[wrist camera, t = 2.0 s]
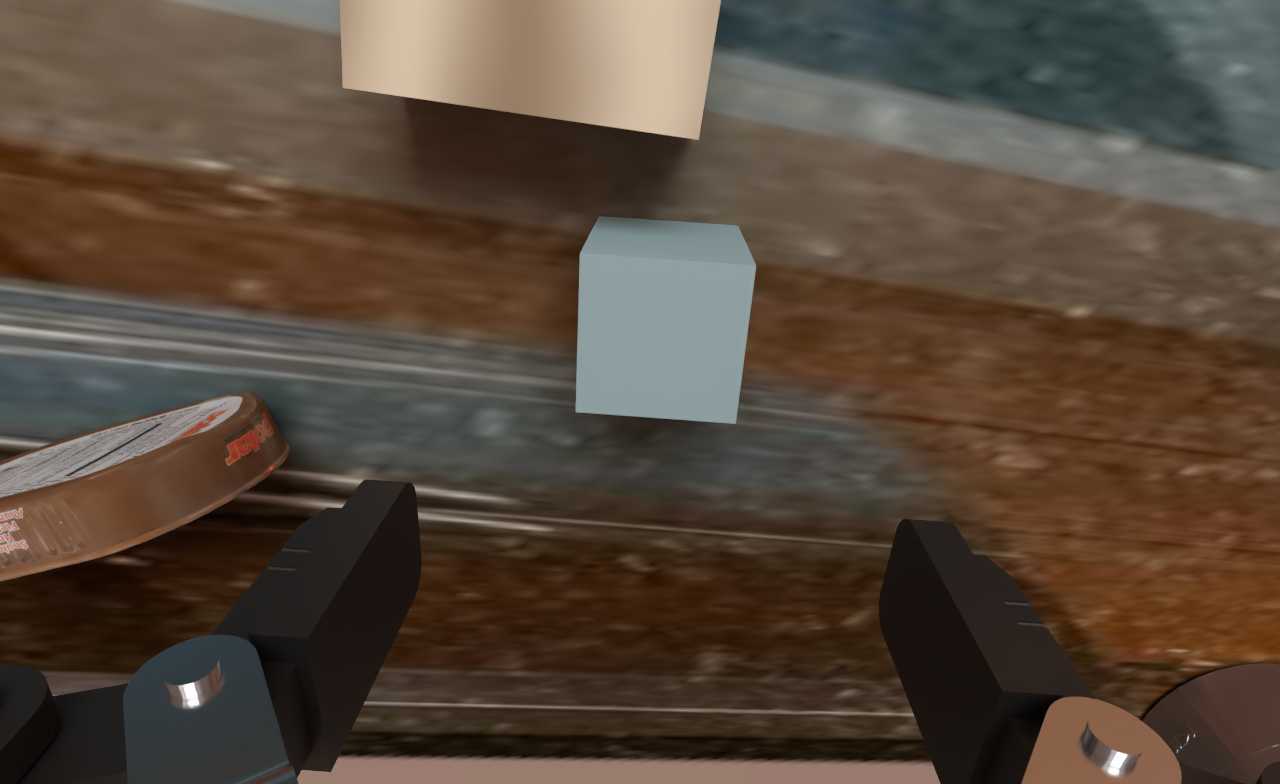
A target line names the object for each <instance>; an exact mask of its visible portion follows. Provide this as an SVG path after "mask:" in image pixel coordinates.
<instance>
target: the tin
mask: <svg viewBox="0 0 1280 784" xmlns="http://www.w3.org/2000/svg"><path fill="white" fill-rule="evenodd" d="M289 453H290V446H289V445H288V443H286V442H285V441H284V440H283V438H282V436H281V434H280V432H279V430H278V428H277V426H276V424H275V422H274V420H273V418H272V416H271V414H270V412H269V410H268V409H267V407H266V405H265V403H264V402H263V401H262V399H261V398H260V397H258V396H257V395H255V394H253V393H245V392H243V393H234V394H229V395H224V396H219V397H215V398H211V399H208V400H204V401H201V402H197V403H193V404H189V405H185V406H181V407H177V408H174V409H170V410H166V411H162V412H158V413H155V414H151V415H147V416H143V417H139V418H136V419H132V420H129V421H125V422H121V423H118V424H114V425H111V426H107V427H104V428H100V429H97V430H93V431H90V432H87V433H83V434H80V435H76V436H73V437H69V438H66V439H63V440H60V441H57V442H54V443H51V444H48V445H45V446H42V447H39V448H37V449H34V450H31V451H28V452H25V453H22V454H20V455H17V456H14V457H12V458H9V459H6V460H4V461H1V462H0V581H5V580H9V579H13V578H18V577H22V576H25V575H29V574H34V573H39V572H43V571H47V570H51V569H54V568H59V567H63V566H68V565H72V564H77V563H81V562H85V561H89V560H93V559H97V558H100V557H104V556H107V555H110V554H113V553H116V552H119V551H122V550H124V549H127V548H130V547H132V546H135V545H138V544H141V543H144V542H146V541H148V540H151V539H153V538H155V537H157V536H160V535H162V534H164V533H166V532H169V531H172V530H174V529H176V528H178V527H180V526H183V525H185V524H187V523H189V522H191V521H193V520H195V519H197V518H199V517H201V516H203V515H205V514H207V513H209V512H211V511H213V510H215V509H216V508H218V507H220V506H222V505H224V504H226V503H228V502H229V501H231V500H233V499H234V498H236V497H238V496H240V495H241V494H242V493H244V492H246V491H247V490H249V489H250V488H252V487H253V486H255V485H256V484H258V483H259V482H261V481H262V480H264V479H265V478H266V477H268V476H269V475H270V474H271V473H272V472H274V471H275V470H276V469H278V467H279V466H281V465H282V464H283V462H284V461H285V460H286V458H287V457H288V455H289Z"/></svg>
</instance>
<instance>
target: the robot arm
mask: <svg viewBox="0 0 1280 784" xmlns="http://www.w3.org/2000/svg"><path fill="white" fill-rule="evenodd" d="M420 574H421V549H420V537H419V524H418V512H417V500H416V492H415V488H414V486H413V484H412V483H407V482H393V481H379V480H364V481H362V482H361V484H360V485H359V486H358V487H357V489H356V490H355V491H354V493H353V494H352V495H351V497H350V498H349V499H348V501H347V502H346V503H345V505H344V506H343V507H342V508H326V509H325V510H323V511H322V512H320V513H318V514H317V515H315V516H314V517H312V518H311V519H309V520H307V521H306V522H304V523H303V524H301V525H300V526H299V527H298V528H297V530H296V531H295V532H294V533H293V534H292V536H291V537H290V538H289V539H288V541H287V542H286V543H285V544H284V546H283V547H282V551H281V552H280V551H279V552H278V553H277V554H276V555H275V557H274V558H273V559H272V560H271V562H270V563H269V564H268V567H267V570H263V571H262V573H261V574H260V575H259V576H258V578H257V579H256V580H255V581H254V582H253V584H252V585H251V586H250V587H249V589H248V590H247V591H246V592H245V594H244V595H243V596H242V597H241V598H240V600H239V601H238V602H237V603H236V605H235V606H234V607H233V608H232V610H231V611H230V612H229V613H228V614H227V616H226V617H225V618H224V619H223V621H222V622H221V623H220V624H219V626H218V627H217V628H216V629H215V630H214V632H213V633H212V634H211V635H210V636H204V637H198V638H195V639H191V640H188V641H185V642H182V643H180V644H177V645H175V646H173V647H171V648H169V649H167V650H165V651H163V652H161V653H160V654H158V655H156V656H155V657H154V658H152V659H151V660H149V661H148V662H147V663H146V664H144V665H143V666H142V667H141V668H140V669H139V670H138V671H137V672H136V673H135V675H134V676H133V677H132V678H131V680H130V682H129V683H127V684H122V685H117V686H111V687H105V688H99V689H93V690H88V691H82V692H76V693H70V694H64V695H58V696H52V694H51V691H50V689H49V686H48V683H47V681H46V678H45V676H44V675H43V674H42V673H41V672H39V671H37V670H36V669H33V668H30V667H25V666H2V667H0V784H298V781H297V777H298V775H299V773H300V771H301V770H312V771H327V772H331V770H332V768H333V766H334V764H335V762H336V760H337V758H338V756H339V754H340V752H341V750H342V748H343V746H344V743H345V741H346V739H347V737H348V735H349V733H350V731H351V729H352V727H353V725H354V723H355V721H356V719H357V716H358V714H359V712H360V710H361V708H362V706H363V704H364V702H365V700H366V698H367V696H368V694H369V692H370V689H371V687H372V685H373V683H374V681H375V679H376V677H377V675H378V673H379V671H380V669H381V667H382V665H383V662H384V660H385V658H386V656H387V654H388V652H389V650H390V648H391V646H392V644H393V642H394V640H395V637H396V635H397V633H398V631H399V629H400V627H401V625H402V623H403V621H404V619H405V617H406V615H407V613H408V610H409V608H410V606H411V604H412V602H413V600H414V598H415V595H416V592H417V589H418V585H419V581H420ZM879 618H880V625H881V629H882V633H883V636H884V638H885V641H886V643H887V646H888V649H889V651H890V654H891V656H892V659H893V662H894V664H895V667H896V669H897V672H898V675H899V677H900V680H901V682H902V685H903V688H904V690H905V693H906V695H907V698H908V700H909V703H910V706H911V708H912V711H913V713H914V716H915V719H916V721H917V724H918V726H919V729H920V732H921V734H922V737H923V739H924V742H925V745H926V747H927V750H928V752H929V755H930V757H931V760H932V763H933V765H934V768H935V770H936V773H937V775H938V778H939V781H940V783H941V784H1280V664H1270V663H1259V664H1245V665H1238V666H1234V667H1229V668H1224V669H1220V670H1217V671H1214V672H1211V673H1208V674H1206V675H1203V676H1200V677H1197V678H1195V679H1193V680H1191V681H1190V682H1188V683H1186V684H1184V685H1182V686H1180V687H1178V688H1177V689H1175V690H1174V691H1172V692H1171V693H1170V694H1168V695H1167V696H1166V697H1164V698H1163V699H1161V700H1160V701H1159V702H1158V703H1157V704H1156V705H1155V706H1154V707H1153V708H1152V709H1151V710H1150V711H1149V713H1148V714H1147V715H1146V716H1145V718H1144V720H1143V721H1141V720H1139V719H1138V718H1136V717H1135V716H1133V715H1131V714H1130V713H1128V712H1126V711H1124V710H1122V709H1120V708H1118V707H1116V706H1114V705H1111V704H1109V703H1106V702H1103V701H1100V700H1096V698H1095V697H1094V695H1093V694H1092V693H1091V691H1090V690H1089V688H1088V687H1087V685H1086V684H1085V682H1084V681H1083V679H1082V678H1081V677H1080V675H1079V674H1078V672H1077V671H1076V669H1075V668H1074V666H1073V665H1072V663H1071V662H1070V660H1069V659H1068V658H1067V656H1066V655H1065V653H1064V652H1063V650H1062V649H1061V647H1060V646H1059V644H1058V643H1057V642H1056V640H1055V639H1054V637H1053V636H1052V634H1051V633H1050V631H1049V630H1048V628H1044V627H1043V621H1042V620H1041V618H1040V617H1039V615H1038V614H1037V612H1036V611H1035V609H1034V608H1033V607H1030V606H1029V601H1028V599H1027V598H1026V596H1025V595H1024V593H1023V592H1022V591H1021V589H1020V588H1019V586H1018V585H1017V583H1016V582H1015V580H1014V579H1013V577H1011V576H1010V575H1009V574H1008V573H1006V572H1005V571H1004V570H1003V569H1001V568H1000V567H999V566H998V565H996V564H995V563H994V562H993V561H991V560H990V559H989V558H988V557H986V556H984V555H974V554H973V553H972V551H971V550H970V548H969V547H968V545H967V543H966V542H965V540H964V539H963V537H962V536H961V534H960V532H959V531H958V529H957V528H956V526H955V525H954V524H953V523H951V522H940V521H926V520H912V519H904V520H902V521H901V522H900V523H899V525H898V527H897V530H896V534H895V538H894V542H893V546H892V549H891V553H890V557H889V561H888V565H887V569H886V573H885V577H884V581H883V585H882V589H881V593H880V600H879Z"/></svg>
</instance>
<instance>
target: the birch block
mask: <svg viewBox="0 0 1280 784" xmlns="http://www.w3.org/2000/svg"><path fill="white" fill-rule="evenodd" d="M720 3H721V0H340V19H341V48H342V78H343V88H348V89H355V90H362V91H369V92H375V93H382V94H389V95H396V96H403V97H409V98H416V99H423V100H430V101H437V102H444V103H450V104H457V105H464V106H471V107H478V108H485V109H491V110H498V111H505V112H512V113H519V114H526V115H532V116H539V117H546V118H553V119H560V120H566V121H573V122H580V123H587V124H594V125H601V126H607V127H614V128H621V129H628V130H635V131H642V132H648V133H655V134H662V135H669V136H676V137H683V138H689V139H696V140H699V135H700V129H701V122H702V116H703V110H704V104H705V97H706V91H707V85H708V78H709V72H710V66H711V60H712V53H713V47H714V41H715V35H716V28H717V22H718V16H719V10H720Z"/></svg>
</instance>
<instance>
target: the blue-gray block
mask: <svg viewBox="0 0 1280 784" xmlns="http://www.w3.org/2000/svg"><path fill="white" fill-rule="evenodd" d="M755 271H756V264H755V262H754V260H753V257H752V255H751V253H750V251H749V249H748V247H747V244H746V242H745V240H744V238H743V236H742V234H741V231H740V229H739V227H738V226H736V225H722V224H708V223H693V222H679V221H664V220H650V219H636V218H621V217H607V216H599V217H598V219H597V221H596V223H595V225H594V227H593V229H592V231H591V233H590V235H589V237H588V239H587V240H586V242H585V244H584V246H583V248H582V250H581V252H580V266H579V304H578V341H577V379H576V412H580V413H594V414H608V415H622V416H636V417H650V418H663V419H677V420H691V421H705V422H719V423H732V424H736V417H737V410H738V402H739V394H740V387H741V379H742V371H743V364H744V356H745V348H746V340H747V333H748V325H749V317H750V310H751V302H752V294H753V287H754V279H755Z"/></svg>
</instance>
